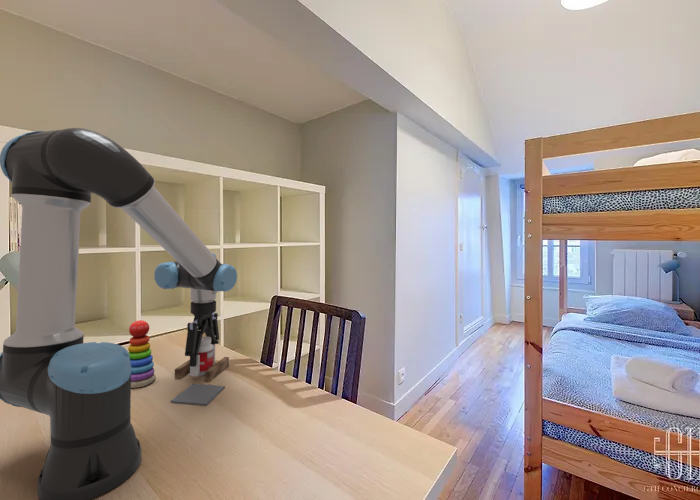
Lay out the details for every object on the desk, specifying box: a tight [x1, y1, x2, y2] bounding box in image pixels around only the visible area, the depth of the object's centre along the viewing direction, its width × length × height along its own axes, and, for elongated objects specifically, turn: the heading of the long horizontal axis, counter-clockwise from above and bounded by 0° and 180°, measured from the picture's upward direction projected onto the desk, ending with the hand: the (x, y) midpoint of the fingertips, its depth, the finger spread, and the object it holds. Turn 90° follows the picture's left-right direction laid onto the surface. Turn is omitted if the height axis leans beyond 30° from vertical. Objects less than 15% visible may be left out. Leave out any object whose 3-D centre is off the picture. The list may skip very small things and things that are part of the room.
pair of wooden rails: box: [174, 356, 230, 383], centre depth 104 cm, size 12×12×3 cm
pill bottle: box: [198, 335, 214, 377], centre depth 104 cm, size 6×6×11 cm
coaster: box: [170, 383, 226, 407], centre depth 90 cm, size 10×10×1 cm
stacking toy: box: [127, 319, 157, 389], centre depth 96 cm, size 8×8×19 cm
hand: (203, 369), depth 105 cm, fingers open, 9 cm apart
